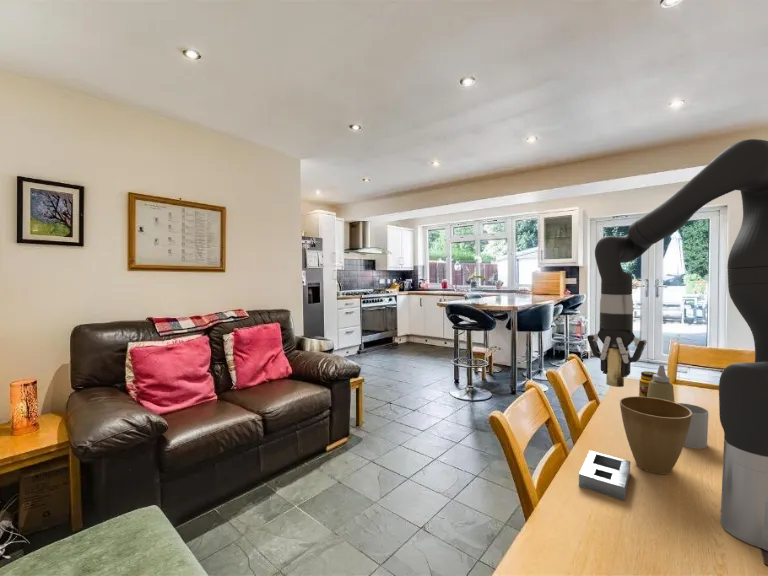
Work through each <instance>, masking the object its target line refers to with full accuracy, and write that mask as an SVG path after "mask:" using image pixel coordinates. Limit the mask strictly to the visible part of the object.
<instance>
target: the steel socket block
mask: <svg viewBox="0 0 768 576" xmlns="http://www.w3.org/2000/svg"><path fill="white" fill-rule="evenodd" d="M630 475H631V460H627V459H623V458H619V457H616V456H612V455H609V454H605V453H601V452H597V451H593V450H588V453H587V455H586V457H585V460H584V462H583V464H582V466H581V469H580V470H579V473H578V487H581V488H583V489H587V490H590V491H592V492H595V493H598V494H602V495H605V496H608V497H612V498H614V499H618V500H620V501H625V499H626V494H627V490H628V485H629V480H630Z"/></svg>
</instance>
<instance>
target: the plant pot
mask: <svg viewBox="0 0 768 576" xmlns="http://www.w3.org/2000/svg"><path fill="white" fill-rule="evenodd" d="M678 403H679V402H671V401H668V400H663V399H658V398H652V397H640V396H639V395H637V396H636V395H635V396H625V397H623V398H620V399H619V406H620V414H621V420H622V423H623V428H624V432H625V435H626V439H627V442H628V446H629V448H630V452H631V454H632V457H633V458H634V461H635V464H636V465H637V466H638V467H639V468H641V469H643V470H644V471H647V472H650V473H653V474H659V475H668V474H671V472H672V471H673V469H674V467H675V466H676V464H677V462H678V460H679V458H680V456H681V454H682V451H683V448H684V447H685V446H684V443H685V441H686V437H687V434H688V430H689V426H690V422H691V417H692V412H691V410H690V409H688V408H687V407H685V406H683V405H680V404H678Z"/></svg>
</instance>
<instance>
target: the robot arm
mask: <svg viewBox="0 0 768 576" xmlns="http://www.w3.org/2000/svg"><path fill="white" fill-rule="evenodd" d="M735 191H740V195H741V201H742V220H741V221H742V222H741V226H740V229H739V230H738V231H739V232H738V233H737V235H736V237H735V240H734V242H733V244H732V247H731V249H730V251H729V254H728V259H727V266H726V267H727V285H728V286H727V288H728V293H729V297H730V299H731V301H732V302H733V305H734V307H736V310H737V312H739V314H740V315H741V317H742V318H743V320H744V321H745V322H746V324H747V325H748V327H749V329H750V331H751V335H752V337H753V338H752V339H753V343H754V361H752V362H751V361H750V362H736V363H732V364H731V363H730V364H729V365H727V366H726V367H725V368H724V369H723V371H722V372H721V374H720V377H719V382H718V406H719V413H718V414H719V422H720V425H721V427H722V430H723V434H724V435H723V453H722V455H723V457H722V473H721V475H722V476H721V477H722V478H721V498H720V499H721V501H720V503H721V504H720V524H721V526H722V527H723V529H724V530H725V531H726V532H728V533H729V534H730V535H732V536H733V537H734V538H737V539H738V540H740V541H742V542H744V543H746V544H749V545H751V546H754V547H757V548H760V549H763V550H765V551H767V552H768V140H765V139H759V138H758V139H756V138H750V139H744V140H740V141H738V142H735V143H734V144H731V145H730V146H728V147H726V148H725V149H724V150H723V151H722V152H721V153H719V154H718V155H717V156H716V157H715V158H713V159H712V160H711V161H710V162H709V163H707V165H706V166H704V168H702V169H701V170H700V171H698V173H697V174H695V176H693V177H692V178H691V179H689V181H687V182H686V183H685V184H684V185H683V186H682V187H681V188H679V189H678V190H677V191H676V192H675V193H673V194H672V195H671V196H670V197H668V198H667V199H665V201H663V202H662V203H661V204H658V206H656V207H654V208H653V209H651V210H650V211H649V212H647V213H646V214H643V215H642V216H641V217H639V218H638V219H636V220H635V221H633V223H631V224H630V225H629V227H628V229H627V234H626V235H623V236H618V235H617V236H616V235H608V236H607V235H606V236H603V237H601V238H600V239H599V240H598V242H597V243H596V246H595V249H594V257H595V262H596V266H597V269H598V273H599V276H600V280H601V281H600V282H601V283H600V299H599V330H598V332H597V333H595V334H593V333H592V334H588V335H587V337H586V339H587V341H588V344H589V348H590V350H591V352H592V356H593V357H596V358H598V359H599V360H600V371H601V372H602V374H604V375H606V373H607V351H608V348H612V344H617V349H620V353H621V355H622V358H623V361H624V363H622V377H624V378H627V377H628V376H630V375H631V363H637V362H638V361H639V360H640V358H641V357H642V355H643V351H644V350H645V347H646V346H647V343H648V342H647V340H646V339H641V338H638V337H636V336H635V333H634V301H633V276H632V274H630V273H629V272H627V271H624V270H623V268H622V264H624V263H625V264H626V263H630V262H632V261H634V260H636V259H638V258H639V257H641V256H643V254H644V253H645V252H646V251H648V250H649V249H650V248H651V247H652V246H653V245H654V244H657V243H658V242H660V241H662V240H663V239H665V238H668V237H669V236H671V235H672V234H673V233H675V232H677V231H678V230H680V229H681V228H682V227H683V226H685V225H686V224H687V222H689V220H690V219H691V218H692V217H693V216H694V214H695V213H697V212H698V211H699V210H701V208H703V207H704V206H706V205H707V204H709V203H710V202H712V201H714V200H716V199H718V198H720V197H722V196H724V195H727V194H729V193H732V192H735ZM599 340H600V341H601V343H602V344H603V345H602V349H601V350H600V348H599V345H598V341H599ZM631 343H634V346H635V347H636V348H635V350H634V353H633V354H632V356H631V353H630V349H629V346H630V345H631Z"/></svg>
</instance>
